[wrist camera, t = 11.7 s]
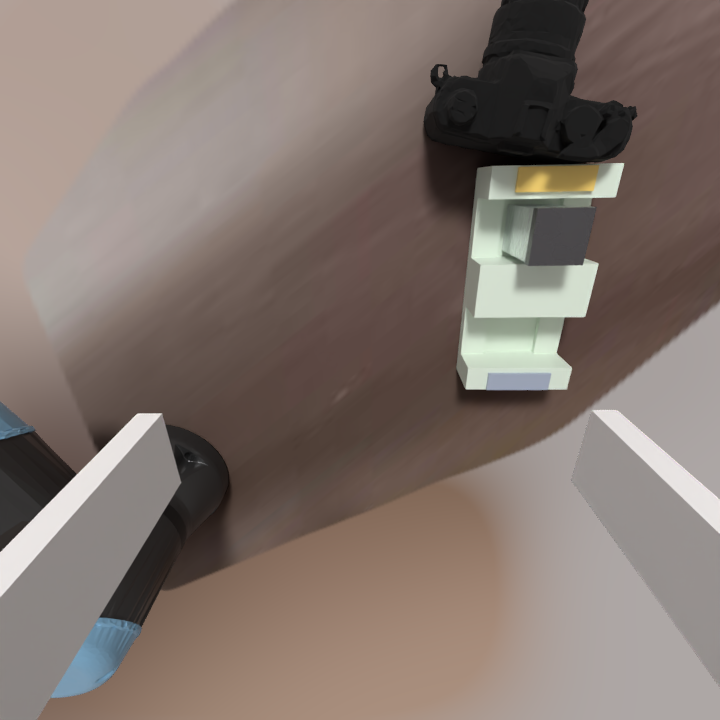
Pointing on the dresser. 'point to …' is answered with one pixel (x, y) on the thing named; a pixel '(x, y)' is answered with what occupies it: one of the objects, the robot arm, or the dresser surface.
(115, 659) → the robot arm
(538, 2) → the film camera
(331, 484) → the dresser surface
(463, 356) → the socket block
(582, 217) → the plug
